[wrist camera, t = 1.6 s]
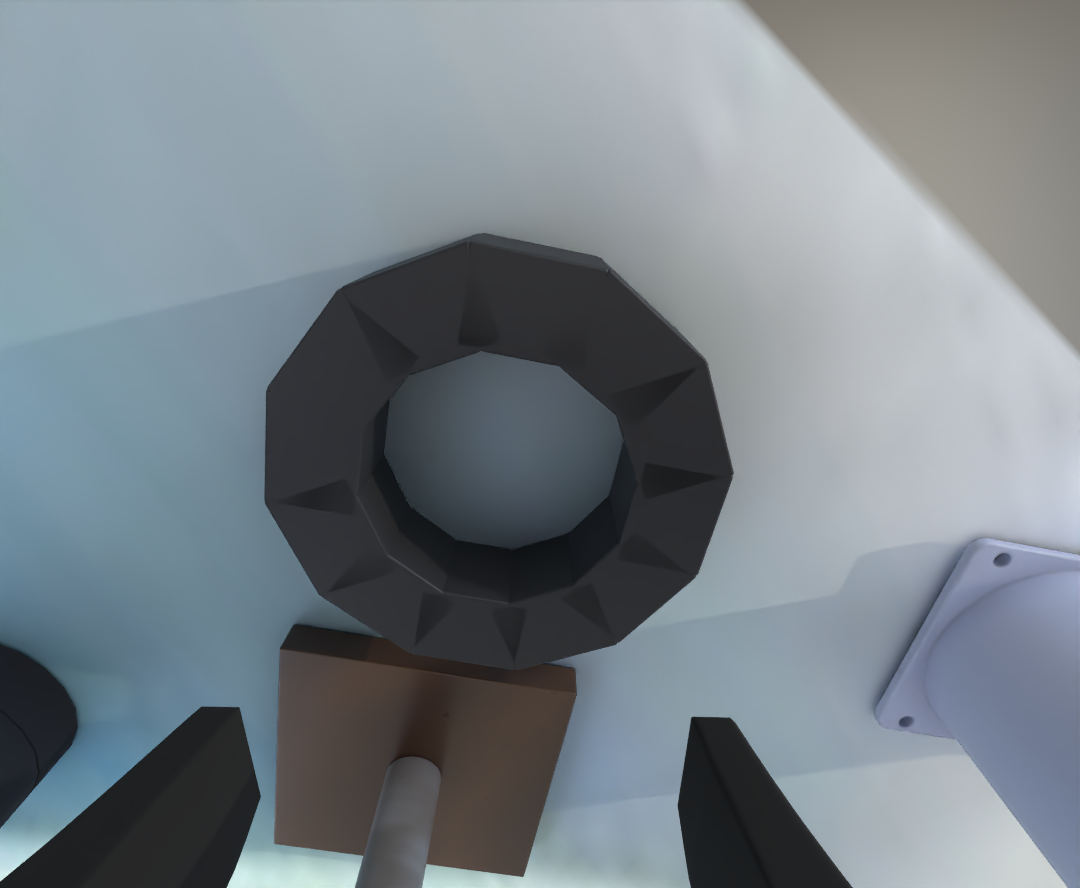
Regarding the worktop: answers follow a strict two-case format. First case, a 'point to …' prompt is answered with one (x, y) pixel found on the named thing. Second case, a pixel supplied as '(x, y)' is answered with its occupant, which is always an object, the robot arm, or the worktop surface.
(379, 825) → the stand
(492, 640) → the ring
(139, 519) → the worktop surface
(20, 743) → the black thermos flask
